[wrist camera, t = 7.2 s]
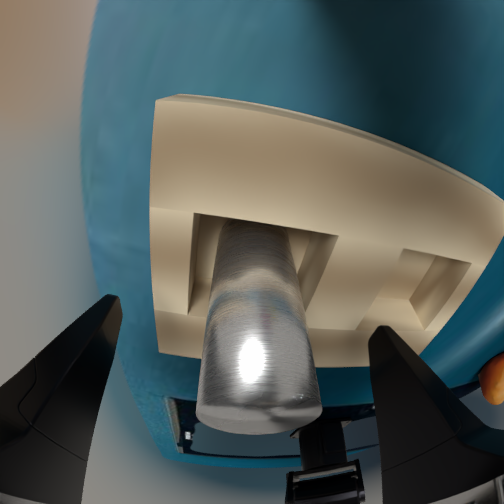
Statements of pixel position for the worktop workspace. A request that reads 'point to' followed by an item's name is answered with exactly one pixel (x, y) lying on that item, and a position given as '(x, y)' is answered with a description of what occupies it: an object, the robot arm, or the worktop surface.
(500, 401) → the fruit
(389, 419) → the robot arm
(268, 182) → the socket block
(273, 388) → the pin
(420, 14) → the worktop surface
